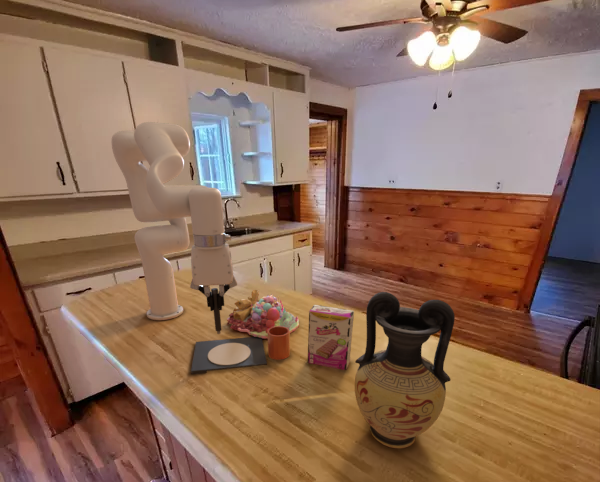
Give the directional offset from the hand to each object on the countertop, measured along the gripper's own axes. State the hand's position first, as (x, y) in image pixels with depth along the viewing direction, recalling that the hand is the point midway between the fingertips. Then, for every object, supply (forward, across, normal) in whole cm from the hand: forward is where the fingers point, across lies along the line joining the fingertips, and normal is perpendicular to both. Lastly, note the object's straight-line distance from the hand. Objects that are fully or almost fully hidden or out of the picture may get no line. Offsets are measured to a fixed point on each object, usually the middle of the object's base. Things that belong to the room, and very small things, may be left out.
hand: (216, 308), depth 90 cm
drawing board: (+15, -2, -1) cm, 16 cm away
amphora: (+16, -35, +36) cm, 53 cm away
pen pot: (+16, -16, +2) cm, 23 cm away
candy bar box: (+16, -29, +9) cm, 34 cm away
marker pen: (+8, 0, 0) cm, 8 cm away
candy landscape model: (+15, -14, -20) cm, 29 cm away
